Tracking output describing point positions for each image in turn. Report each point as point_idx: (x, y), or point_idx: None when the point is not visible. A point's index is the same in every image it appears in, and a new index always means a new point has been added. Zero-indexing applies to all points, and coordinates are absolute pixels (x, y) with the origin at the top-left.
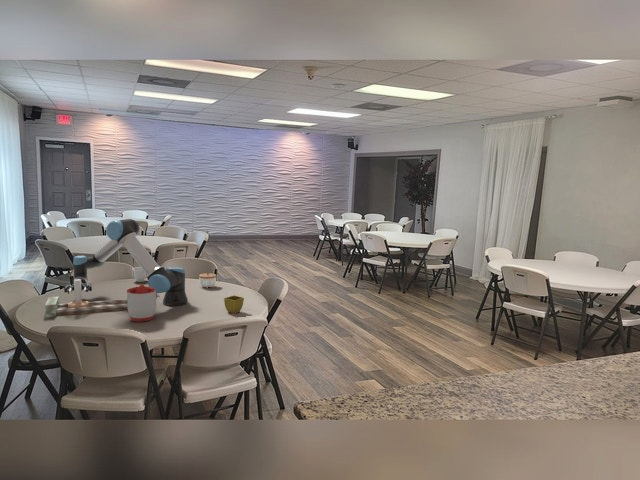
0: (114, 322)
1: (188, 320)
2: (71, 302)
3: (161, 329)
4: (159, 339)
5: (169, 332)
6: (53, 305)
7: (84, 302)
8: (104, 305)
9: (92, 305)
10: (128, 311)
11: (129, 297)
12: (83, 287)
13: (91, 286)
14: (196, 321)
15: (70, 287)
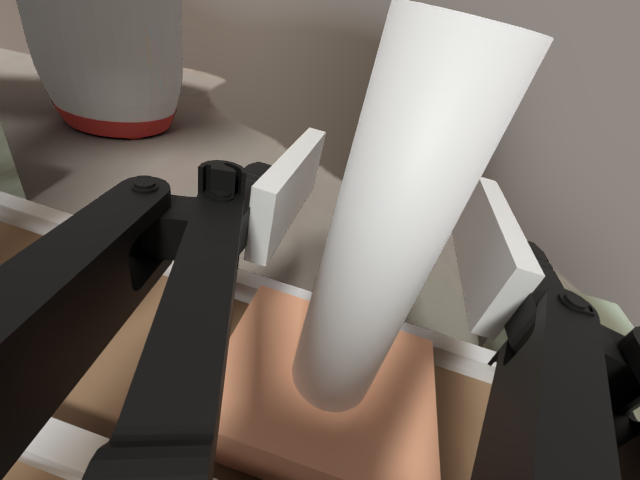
0: (229, 150)
1: (32, 66)
2: (406, 475)
3: None
4: (215, 75)
5: None
6: None
7: (258, 369)
8: None
9: None
10: (177, 91)
11: (181, 7)
12: (223, 369)
13: (111, 190)
14: (29, 58)
15: (571, 350)
